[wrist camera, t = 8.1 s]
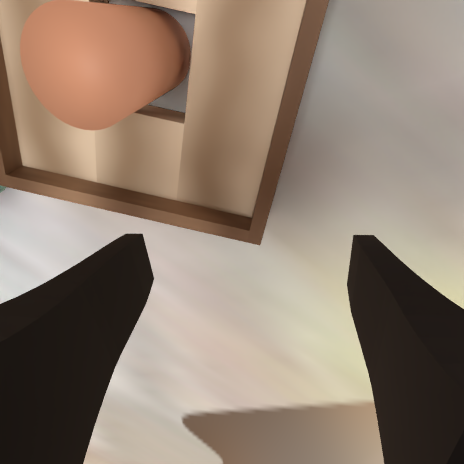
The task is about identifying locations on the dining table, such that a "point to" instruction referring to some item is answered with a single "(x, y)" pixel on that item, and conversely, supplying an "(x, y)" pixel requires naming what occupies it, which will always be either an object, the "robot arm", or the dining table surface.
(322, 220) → the dining table surface
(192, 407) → the dining table surface
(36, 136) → the walnut box
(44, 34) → the peg
